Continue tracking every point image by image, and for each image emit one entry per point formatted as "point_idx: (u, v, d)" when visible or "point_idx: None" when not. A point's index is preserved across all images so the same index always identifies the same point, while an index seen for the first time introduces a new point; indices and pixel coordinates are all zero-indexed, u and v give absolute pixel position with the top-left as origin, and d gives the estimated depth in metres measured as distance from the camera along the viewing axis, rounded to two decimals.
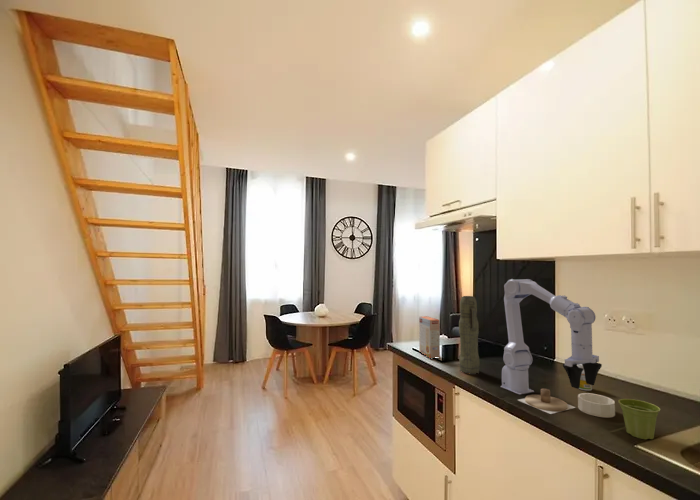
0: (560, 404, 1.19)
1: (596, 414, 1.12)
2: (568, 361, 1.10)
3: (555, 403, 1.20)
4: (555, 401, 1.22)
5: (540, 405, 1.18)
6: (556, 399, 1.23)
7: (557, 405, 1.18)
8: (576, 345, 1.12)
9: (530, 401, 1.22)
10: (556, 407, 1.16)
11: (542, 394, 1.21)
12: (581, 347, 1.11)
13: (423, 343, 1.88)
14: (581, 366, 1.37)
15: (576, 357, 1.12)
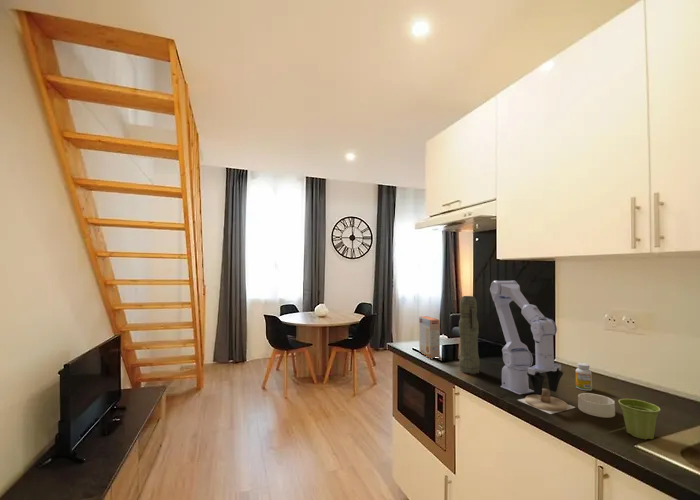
0: (560, 404, 1.19)
1: (596, 414, 1.12)
2: (531, 369, 1.19)
3: (555, 403, 1.20)
4: (555, 401, 1.22)
5: (540, 405, 1.18)
6: (556, 399, 1.23)
7: (557, 405, 1.18)
8: (539, 355, 1.21)
9: (530, 401, 1.22)
10: (556, 407, 1.16)
11: (542, 394, 1.21)
12: (543, 356, 1.20)
13: (423, 343, 1.88)
14: (581, 366, 1.37)
15: (539, 366, 1.21)
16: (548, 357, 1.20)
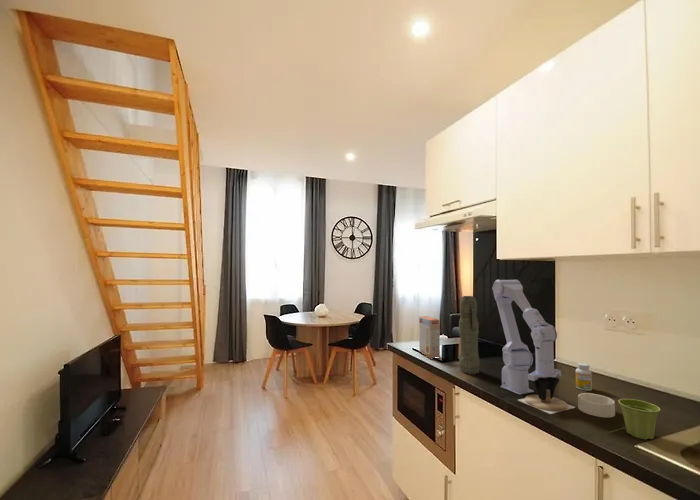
0: (560, 404, 1.19)
1: (596, 414, 1.12)
2: (531, 376, 1.19)
3: (555, 403, 1.20)
4: (555, 401, 1.22)
5: (540, 405, 1.18)
6: (556, 399, 1.23)
7: (557, 405, 1.18)
8: (539, 360, 1.21)
9: (530, 401, 1.22)
10: (556, 407, 1.16)
11: None
12: (543, 362, 1.20)
13: (423, 343, 1.88)
14: (581, 366, 1.37)
15: (539, 372, 1.21)
16: (548, 363, 1.20)
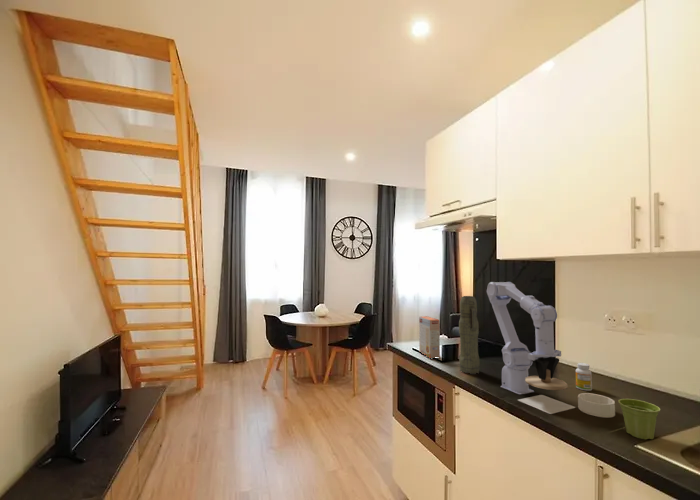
0: (560, 384, 1.19)
1: (596, 414, 1.12)
2: (531, 355, 1.19)
3: (555, 383, 1.20)
4: (555, 381, 1.22)
5: (540, 384, 1.18)
6: (556, 379, 1.24)
7: (557, 385, 1.18)
8: (539, 341, 1.22)
9: (530, 381, 1.22)
10: (556, 386, 1.17)
11: None
12: (543, 342, 1.20)
13: (423, 343, 1.88)
14: (581, 366, 1.37)
15: (539, 352, 1.21)
16: (548, 343, 1.20)
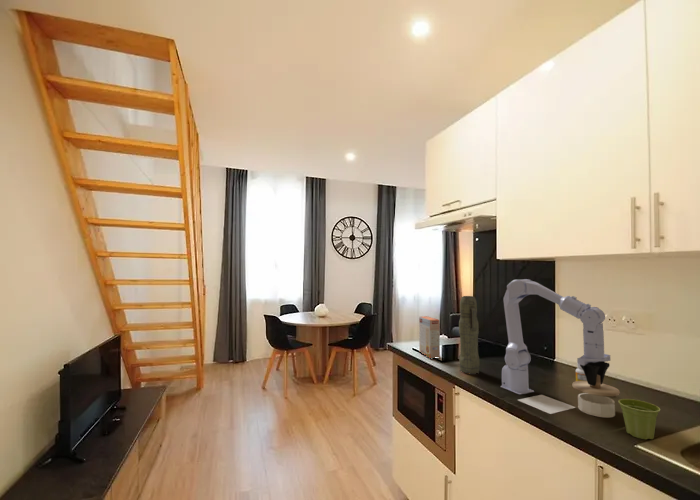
0: (611, 390, 1.13)
1: (596, 414, 1.12)
2: (581, 360, 1.13)
3: (606, 389, 1.14)
4: (605, 387, 1.16)
5: (591, 390, 1.12)
6: (605, 385, 1.18)
7: (609, 391, 1.12)
8: (588, 344, 1.16)
9: (579, 387, 1.16)
10: (609, 392, 1.11)
11: None
12: (593, 346, 1.14)
13: (423, 343, 1.88)
14: None
15: (588, 356, 1.15)
16: (599, 347, 1.14)
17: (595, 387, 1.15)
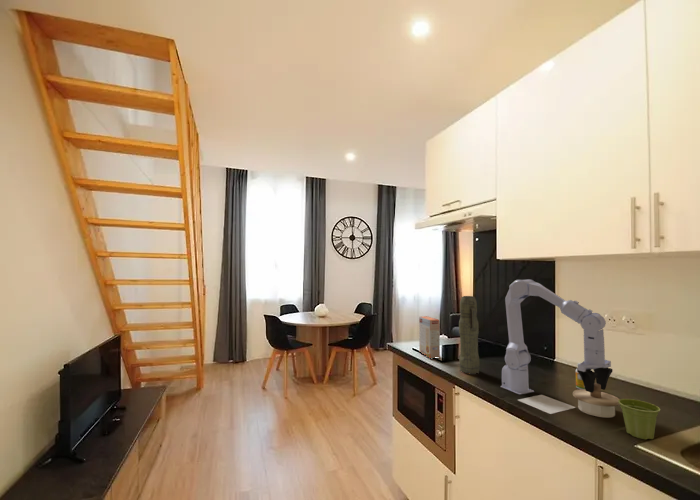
0: (612, 399, 1.13)
1: (596, 414, 1.12)
2: (581, 366, 1.13)
3: (607, 398, 1.14)
4: (605, 396, 1.16)
5: (592, 400, 1.12)
6: (605, 394, 1.18)
7: (609, 400, 1.12)
8: (589, 350, 1.15)
9: (580, 396, 1.16)
10: (609, 402, 1.11)
11: None
12: (594, 352, 1.14)
13: (423, 343, 1.88)
14: None
15: (589, 362, 1.15)
16: (599, 353, 1.14)
17: (596, 396, 1.15)
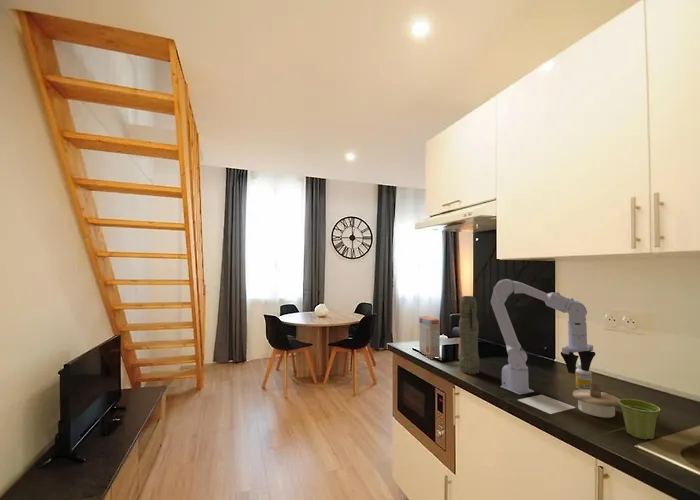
0: (612, 399, 1.13)
1: (596, 414, 1.12)
2: (565, 349, 1.23)
3: (607, 398, 1.14)
4: (605, 396, 1.16)
5: (592, 400, 1.12)
6: (605, 394, 1.18)
7: (609, 400, 1.12)
8: (572, 335, 1.25)
9: (580, 396, 1.16)
10: (609, 402, 1.11)
11: (592, 389, 1.15)
12: (577, 337, 1.24)
13: (423, 343, 1.88)
14: None
15: (572, 346, 1.25)
16: (582, 337, 1.24)
17: (596, 396, 1.15)
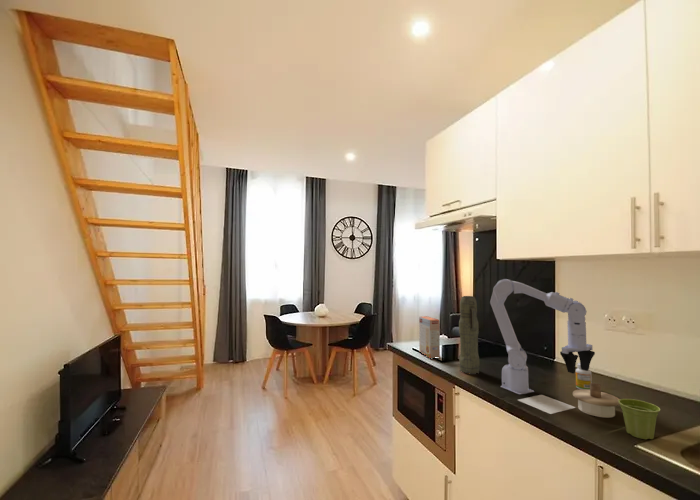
0: (612, 399, 1.13)
1: (596, 414, 1.12)
2: (565, 349, 1.24)
3: (607, 398, 1.14)
4: (605, 396, 1.16)
5: (592, 400, 1.12)
6: (605, 394, 1.18)
7: (609, 400, 1.12)
8: (572, 335, 1.26)
9: (580, 396, 1.16)
10: (609, 402, 1.11)
11: (592, 389, 1.15)
12: (576, 336, 1.25)
13: (423, 343, 1.88)
14: None
15: (572, 345, 1.26)
16: (581, 337, 1.24)
17: (596, 396, 1.15)
